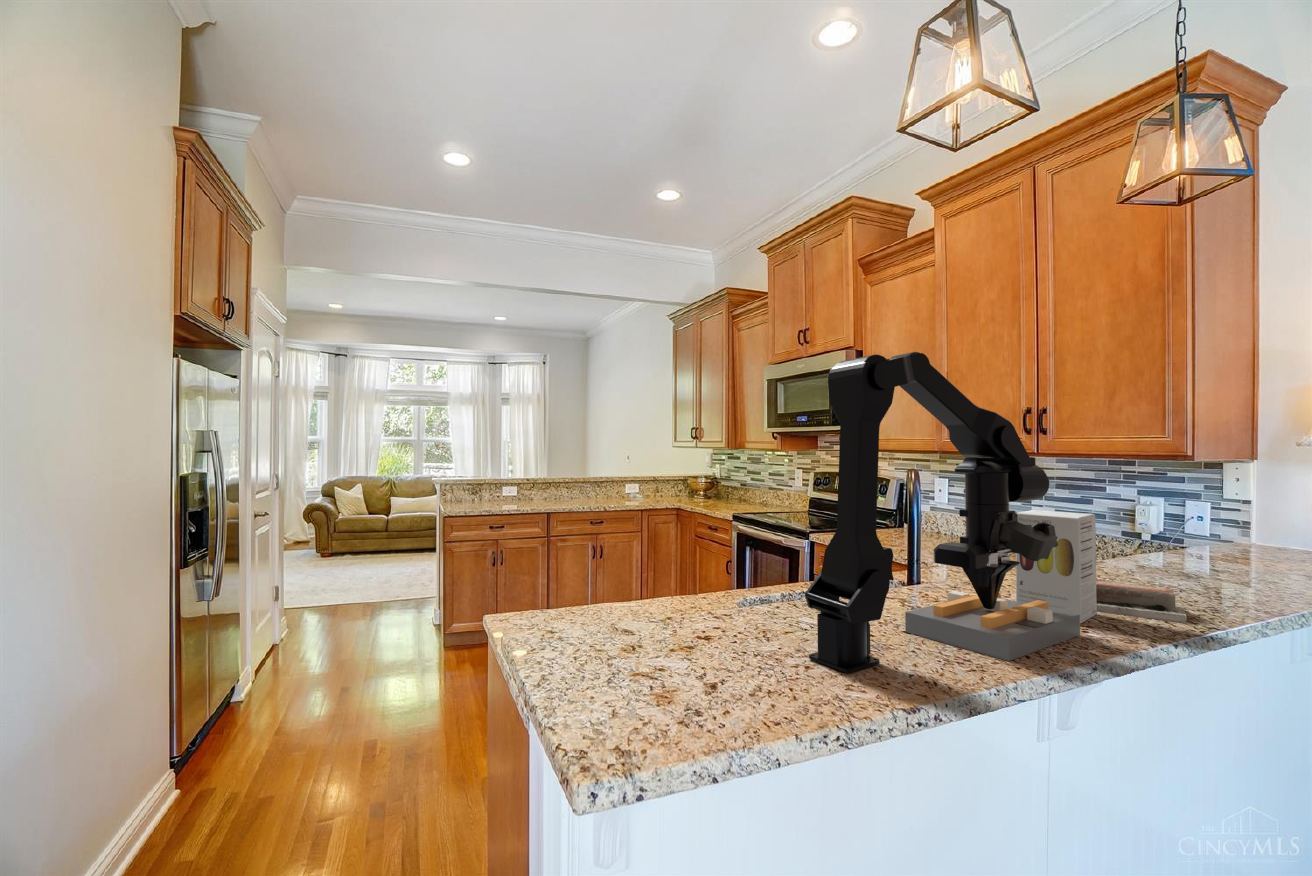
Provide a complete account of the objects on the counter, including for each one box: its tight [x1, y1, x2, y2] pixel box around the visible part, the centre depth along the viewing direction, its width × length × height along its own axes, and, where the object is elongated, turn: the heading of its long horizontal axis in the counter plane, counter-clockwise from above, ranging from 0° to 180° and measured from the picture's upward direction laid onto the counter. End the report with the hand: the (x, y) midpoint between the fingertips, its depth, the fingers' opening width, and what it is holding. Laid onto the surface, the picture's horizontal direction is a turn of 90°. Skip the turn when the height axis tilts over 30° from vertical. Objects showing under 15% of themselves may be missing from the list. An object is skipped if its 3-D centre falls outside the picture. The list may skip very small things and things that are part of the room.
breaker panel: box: [904, 590, 1081, 662], centre depth 88 cm, size 20×15×5 cm
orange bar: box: [981, 600, 1048, 629], centre depth 85 cm, size 16×1×1 cm, turn 122°
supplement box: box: [1015, 509, 1098, 624], centre depth 99 cm, size 10×9×17 cm
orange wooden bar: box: [932, 592, 1002, 617], centre depth 91 cm, size 16×1×1 cm, turn 122°
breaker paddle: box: [984, 598, 1008, 612], centre depth 89 cm, size 2×2×2 cm
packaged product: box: [1096, 579, 1188, 624], centre depth 103 cm, size 18×5×10 cm
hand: (989, 608), depth 88 cm, fingers closed
